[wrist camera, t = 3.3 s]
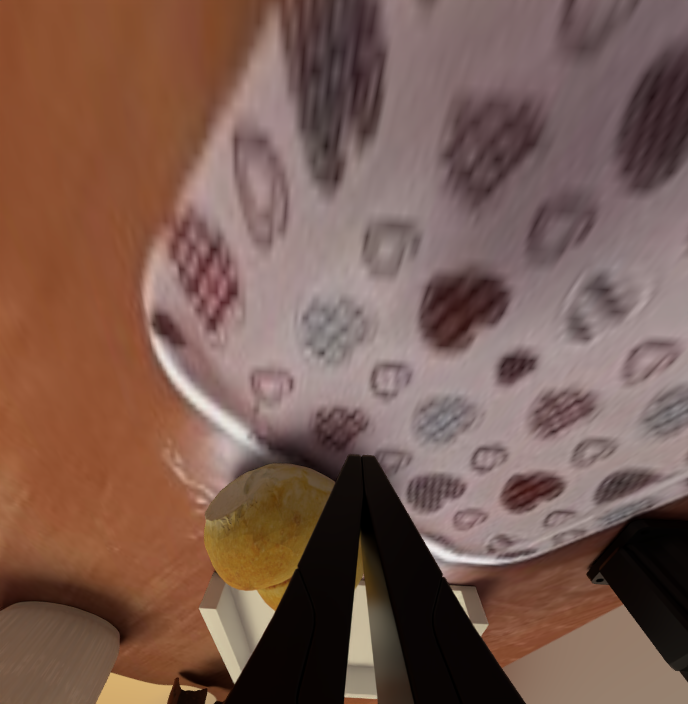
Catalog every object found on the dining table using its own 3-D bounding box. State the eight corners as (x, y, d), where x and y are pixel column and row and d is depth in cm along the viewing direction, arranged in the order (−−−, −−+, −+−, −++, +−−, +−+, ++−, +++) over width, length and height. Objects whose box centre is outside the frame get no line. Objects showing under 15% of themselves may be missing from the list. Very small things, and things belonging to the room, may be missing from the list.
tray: (475, 586, 19) (488, 624, 17) (430, 670, 26) (436, 702, 24) (213, 572, 19) (198, 608, 17) (245, 659, 26) (237, 690, 25)
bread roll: (296, 568, 17) (279, 655, 14) (200, 492, 15) (146, 575, 11) (399, 532, 15) (411, 626, 11) (305, 434, 12) (281, 515, 9)
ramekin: (68, 584, 21) (-58, 738, 14) (162, 645, 26) (101, 778, 19) (-44, 601, 23) (-198, 742, 16) (64, 655, 28) (-20, 777, 21)
